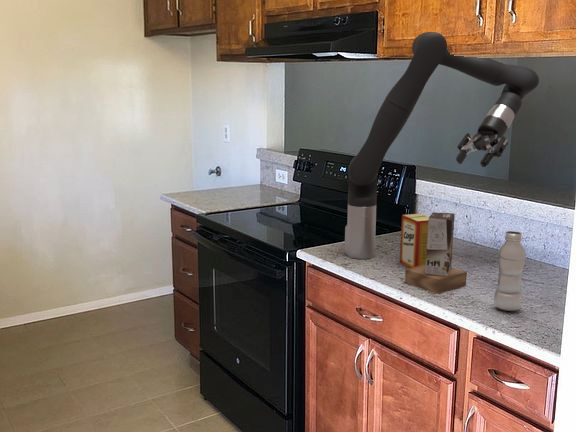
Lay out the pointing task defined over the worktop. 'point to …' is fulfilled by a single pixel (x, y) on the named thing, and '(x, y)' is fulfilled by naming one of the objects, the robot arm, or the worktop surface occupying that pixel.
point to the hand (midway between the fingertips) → (470, 163)
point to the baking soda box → (414, 240)
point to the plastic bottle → (510, 273)
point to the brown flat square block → (435, 279)
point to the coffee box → (439, 244)
